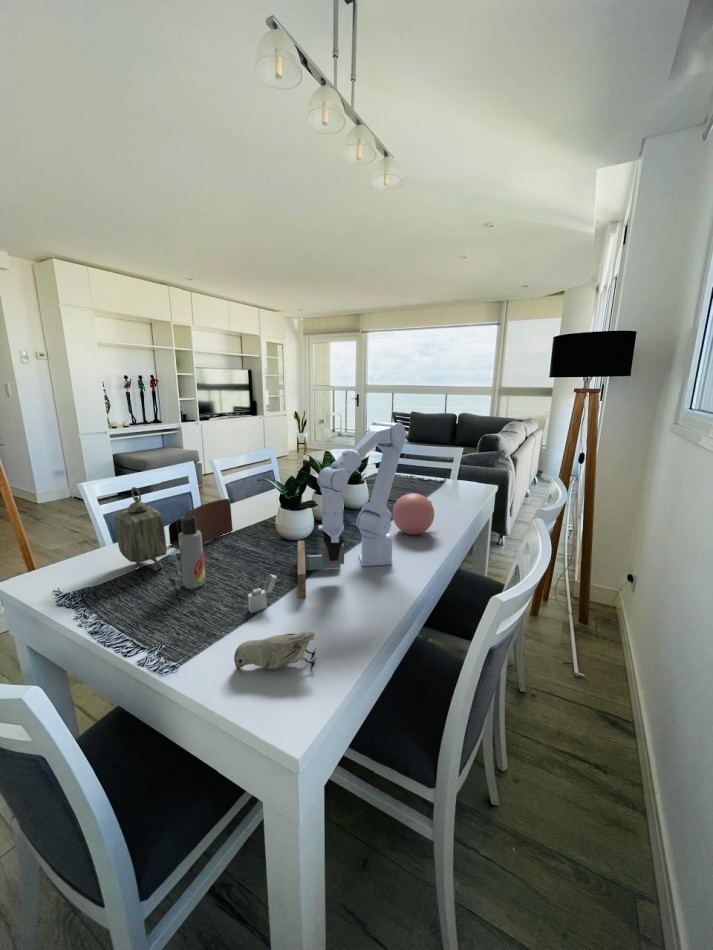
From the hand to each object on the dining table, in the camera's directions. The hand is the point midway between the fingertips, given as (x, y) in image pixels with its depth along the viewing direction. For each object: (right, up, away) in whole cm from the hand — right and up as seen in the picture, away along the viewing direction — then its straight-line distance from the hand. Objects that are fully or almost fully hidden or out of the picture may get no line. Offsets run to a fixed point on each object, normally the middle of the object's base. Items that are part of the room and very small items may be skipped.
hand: (333, 556), depth 108 cm
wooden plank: (-9, -7, +3) cm, 12 cm away
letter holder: (-49, 0, +31) cm, 58 cm away
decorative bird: (-9, -15, -32) cm, 37 cm away
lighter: (-17, -10, -12) cm, 23 cm away
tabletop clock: (-58, -5, +9) cm, 59 cm away
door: (-3, -5, +8) cm, 10 cm away
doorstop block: (0, -1, 0) cm, 2 cm away
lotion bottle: (-38, -8, -1) cm, 39 cm away
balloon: (+29, +1, +38) cm, 48 cm away
